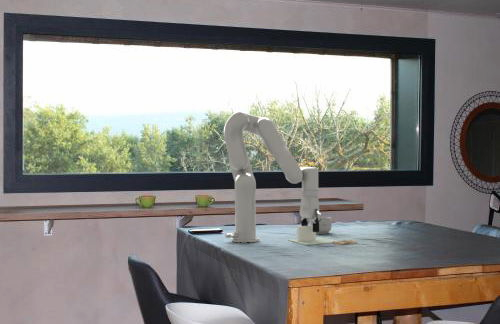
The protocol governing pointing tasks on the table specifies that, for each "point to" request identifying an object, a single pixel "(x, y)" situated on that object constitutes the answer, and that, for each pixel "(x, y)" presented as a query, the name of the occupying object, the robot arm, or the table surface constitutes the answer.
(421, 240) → the table surface
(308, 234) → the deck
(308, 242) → the mat
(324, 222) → the teacup
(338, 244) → the holder
